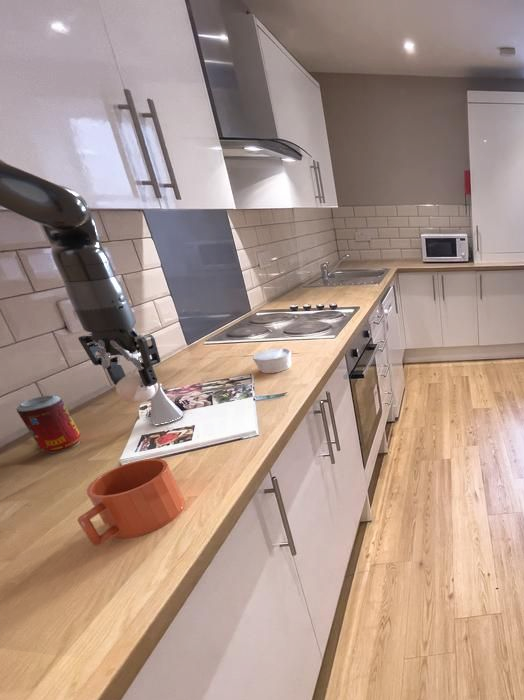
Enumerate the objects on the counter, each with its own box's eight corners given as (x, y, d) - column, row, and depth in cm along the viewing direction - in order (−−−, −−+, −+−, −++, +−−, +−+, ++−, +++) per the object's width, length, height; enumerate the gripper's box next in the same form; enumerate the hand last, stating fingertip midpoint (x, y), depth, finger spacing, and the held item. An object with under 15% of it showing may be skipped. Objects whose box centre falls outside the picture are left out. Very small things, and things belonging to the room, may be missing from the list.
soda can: (41, 447, 97) (13, 401, 91) (82, 435, 102) (58, 390, 96) (43, 458, 92) (14, 411, 87) (85, 445, 97) (61, 399, 92)
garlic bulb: (164, 400, 85) (150, 364, 81) (124, 410, 81) (107, 373, 77) (160, 390, 89) (145, 356, 85) (121, 399, 85) (104, 364, 81)
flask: (153, 429, 103) (137, 394, 99) (148, 419, 108) (132, 385, 104) (187, 418, 108) (173, 384, 104) (181, 409, 113) (167, 376, 108)
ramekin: (299, 367, 139) (295, 353, 137) (263, 377, 132) (259, 362, 129) (287, 359, 146) (283, 345, 144) (252, 368, 139) (248, 354, 136)
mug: (149, 494, 81) (130, 457, 77) (199, 498, 80) (182, 460, 76) (70, 552, 68) (43, 510, 64) (128, 557, 67) (104, 515, 63)
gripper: (43, 307, 73) (85, 391, 80) (116, 308, 72) (152, 393, 79) (87, 297, 80) (122, 375, 87) (154, 298, 79) (184, 378, 86)
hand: (136, 384), depth 83 cm, fingers closed on garlic bulb, 6 cm apart
